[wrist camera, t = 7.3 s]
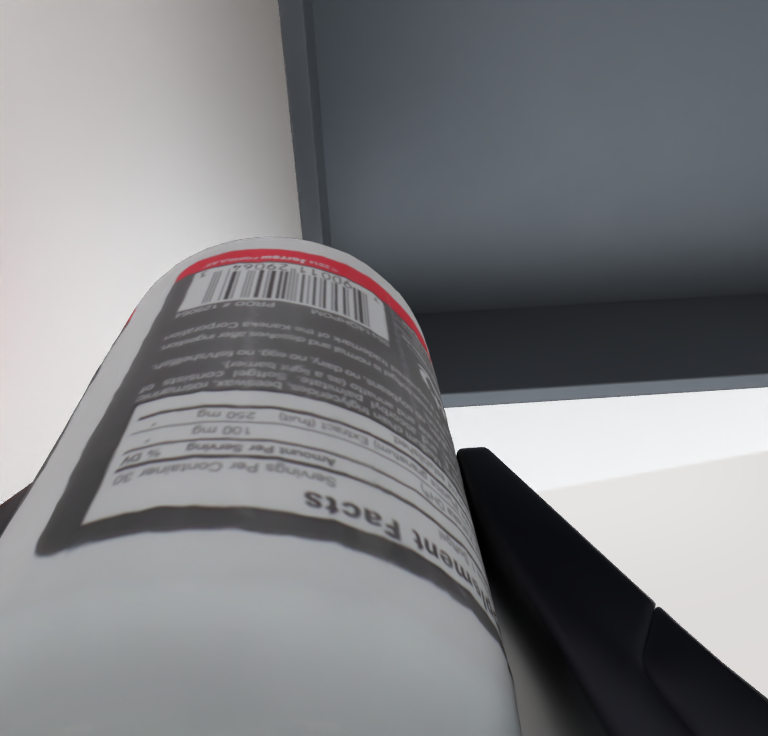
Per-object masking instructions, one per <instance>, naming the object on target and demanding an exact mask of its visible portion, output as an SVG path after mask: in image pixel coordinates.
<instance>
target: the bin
mask: <svg viewBox="0 0 768 736" xmlns="http://www.w3.org/2000/svg"><path fill="white" fill-rule="evenodd" d="M278 5H279V15H280V25H281V34H282V44H283V54H284V64H285V73H286V83H287V93H288V103H289V112H290V122H291V132H292V141H293V151H294V161H295V171H296V180H297V190H298V200H299V210H300V219H301V229H302V239H303V240H305V241H310V242H315V243H318V244H322V245H325V246H328V247H331V248H334V249H337V250H340V251H342V252H345V253H347V254H350V255H351V256H353V257H355V258H356V259H358V260H360V261H361V262H363V263H365V264H366V265H368V266H369V267H370V268H372V269H373V270H374V271H375V272H377V273H378V274H379V275H380V276H381V277H383V278H384V279H385V280H386V281H387V282H388V283H389V284H391V286H392V287H393V288H394V289H395V290H396V291H397V292H399V293H400V295H401V296H402V297H403V299H404V300H405V302H406V303H407V304H408V306H409V307H410V309H411V311H412V313H413V314H414V316H415V318H416V320H417V322H418V324H419V326H420V328H421V331H422V333H423V336H424V339H425V342H426V345H427V348H428V351H429V355H430V358H431V361H432V365H433V368H434V372H435V375H436V379H437V382H438V386H439V390H440V395H441V400H442V404H443V407H444V408H449V407H464V406H480V405H496V404H511V403H527V402H543V401H558V400H574V399H590V398H605V397H621V396H636V395H652V394H668V393H683V392H699V391H715V390H730V389H746V388H761V387H768V0H278Z"/></svg>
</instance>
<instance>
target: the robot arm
mask: <svg viewBox="0 0 768 736" xmlns="http://www.w3.org/2000/svg"><path fill="white" fill-rule="evenodd" d="M456 458H457V461H458V465H459V468H460V473H461V477H462V480H463V485H464V491H465V495H466V499H467V502H468V506H469V510H470V514H471V517H472V521H473V525H474V529H475V532H476V536H477V540H478V544H479V548H480V553H481V557H482V561H483V564H484V568H485V572H486V576H487V580H488V584H489V588H490V592H491V596H492V600H493V604H494V608H495V612H496V616H497V620H498V624H499V628H500V632H501V636H502V640H503V644H504V648H505V652H506V656H507V661H508V664H509V667H510V670H511V673H512V676H513V681H514V686H515V695H516V701H517V707H518V713H519V718H520V724H521V734H522V736H768V699H767V698H766V697H765V696H764V695H762V694H761V693H760V692H759V691H757V690H756V689H755V688H754V687H752V686H751V685H750V684H749V683H747V682H746V681H745V680H744V679H742V678H741V677H740V676H739V675H737V674H736V673H735V672H734V671H732V670H731V669H730V668H729V667H727V666H726V665H725V664H724V663H722V662H721V661H720V660H719V659H718V658H717V657H716V656H714V655H713V654H712V653H711V652H710V651H708V650H707V649H706V648H705V647H704V646H703V645H702V644H701V643H699V642H698V641H697V640H696V639H695V638H694V637H693V636H691V635H690V634H689V633H688V632H687V631H686V630H685V629H684V628H682V627H681V626H680V625H679V624H678V623H677V622H676V621H675V620H674V619H673V618H672V617H670V616H669V615H668V614H667V613H666V612H665V611H664V610H663V609H662V608H660V607H657V608H655V602H654V601H653V600H652V599H651V598H650V597H648V596H647V595H646V594H645V593H644V592H643V591H642V590H641V589H639V587H638V586H636V585H635V584H634V583H633V582H632V581H631V580H630V579H629V578H628V577H627V576H626V575H624V574H623V573H622V572H621V571H620V570H619V569H618V568H617V567H616V566H615V565H613V563H611V562H610V561H609V560H608V559H607V558H606V557H605V556H604V555H603V554H602V553H601V552H600V551H598V550H597V549H596V548H595V547H594V546H593V545H592V544H591V543H590V542H589V541H588V540H586V539H585V538H584V537H583V536H582V535H581V534H580V533H579V532H578V531H577V530H576V529H575V528H573V527H572V526H571V525H570V524H569V523H568V522H567V521H566V520H564V518H562V517H561V516H560V515H559V514H558V513H557V512H556V511H555V510H554V509H553V508H552V507H551V506H550V505H548V504H547V503H546V502H545V501H544V500H543V499H542V498H541V497H539V495H538V494H537V493H535V492H534V491H533V490H532V489H531V488H530V487H529V486H528V485H527V484H526V483H525V482H524V481H522V480H521V479H520V478H519V477H518V476H517V475H516V474H515V473H514V472H513V471H512V470H510V469H509V468H508V467H507V466H506V465H505V464H504V463H503V462H502V461H501V460H500V459H499V458H497V457H496V456H495V455H494V454H493V453H492V452H491V451H490V450H489V449H487V448H485V447H477V448H463V449H460V450H459V451H458V452H457V456H456ZM32 483H33V482H32ZM32 483H31V484H32ZM31 484H29V485H28V486H26V487H25V488H24V489H22V490H21V491H19V492H18V493H17V494H15V495H14V496H13V497H11V498H10V499H8V500H7V501H6V502H4V503H3V504H1V505H0V535H1V534H2V532H3V531H4V529H5V527H6V526H7V524H8V522H9V521H10V519H11V517H12V516H13V514H14V512H15V511H16V509H17V507H18V506H19V504H20V502H21V501H22V499H23V497H24V496H25V494H26V493H27V491H28V489H29V488H30V486H31Z"/></svg>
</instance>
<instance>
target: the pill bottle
mask: <svg viewBox="0 0 768 736" xmlns="http://www.w3.org/2000/svg"><path fill="white" fill-rule="evenodd" d="M0 736H522V734H521V724H520V718H519V713H518V707H517V701H516V695H515V686H514V681H513V676H512V673H511V670H510V667H509V664H508V661H507V656H506V652H505V648H504V644H503V640H502V636H501V632H500V628H499V624H498V620H497V616H496V612H495V608H494V604H493V600H492V596H491V592H490V588H489V584H488V580H487V576H486V572H485V568H484V564H483V561H482V557H481V553H480V548H479V544H478V540H477V536H476V532H475V529H474V525H473V521H472V517H471V514H470V510H469V506H468V502H467V499H466V495H465V491H464V485H463V480H462V477H461V473H460V468H459V465H458V461H457V458H456V454H455V450H454V445H453V441H452V437H451V434H450V431H449V428H448V423H447V418H446V414H445V410H444V407H443V404H442V400H441V395H440V390H439V386H438V382H437V379H436V375H435V372H434V368H433V365H432V361H431V358H430V355H429V351H428V348H427V345H426V342H425V339H424V336H423V333H422V331H421V328H420V326H419V324H418V322H417V320H416V318H415V316H414V314H413V313H412V311H411V309H410V307H409V306H408V304H407V303H406V302H405V300H404V299H403V297H402V296H401V295H400V293H399V292H397V291H396V290H395V289H394V288H393V287H392V286H391V284H389V283H388V282H387V281H386V280H385V279H384V278H383V277H381V276H380V275H379V274H378V273H377V272H375V271H374V270H373V269H372V268H370V267H369V266H368V265H366V264H365V263H363V262H361V261H360V260H358V259H356V258H355V257H353V256H351V255H350V254H347V253H345V252H342V251H340V250H337V249H334V248H331V247H328V246H325V245H322V244H318V243H315V242H310V241H305V240H300V239H295V238H283V237H256V238H247V239H240V240H235V241H231V242H226V243H222V244H219V245H217V246H213V247H210V248H207V249H205V250H203V251H201V252H199V253H197V254H195V255H193V256H191V257H189V258H187V259H185V260H183V261H182V262H180V263H178V264H177V265H175V266H174V267H173V268H172V269H171V270H170V271H169V272H167V273H166V274H165V275H164V276H162V277H161V278H160V279H159V280H158V281H157V282H156V283H155V284H154V285H153V286H152V287H151V288H150V289H149V291H148V292H147V293H146V295H145V296H144V297H143V298H142V300H141V301H140V302H139V304H138V305H137V307H136V308H135V310H134V311H133V313H132V315H131V316H130V318H129V320H128V321H127V323H126V325H125V326H124V328H123V330H122V331H121V333H120V335H119V336H118V338H117V339H116V341H115V342H114V344H113V345H112V347H111V349H110V351H109V352H108V354H107V356H106V357H105V359H104V361H103V362H102V364H101V365H100V367H99V368H98V370H97V371H96V373H95V375H94V377H93V378H92V380H91V382H90V384H89V386H88V388H87V390H86V391H85V393H84V395H83V397H82V399H81V400H80V402H79V404H78V406H77V407H76V409H75V411H74V412H73V414H72V416H71V418H70V420H69V421H68V423H67V425H66V427H65V428H64V430H63V432H62V434H61V435H60V437H59V439H58V440H57V442H56V444H55V445H54V447H53V449H52V450H51V452H50V454H49V456H48V457H47V459H46V461H45V462H44V464H43V466H42V467H41V469H40V471H39V472H38V474H37V476H36V478H35V479H34V481H33V483H32V484H31V486H30V488H29V489H28V491H27V493H26V494H25V496H24V497H23V499H22V501H21V502H20V504H19V506H18V507H17V509H16V511H15V512H14V514H13V516H12V517H11V519H10V521H9V522H8V524H7V526H6V527H5V529H4V531H3V532H2V534H1V535H0Z"/></svg>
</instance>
